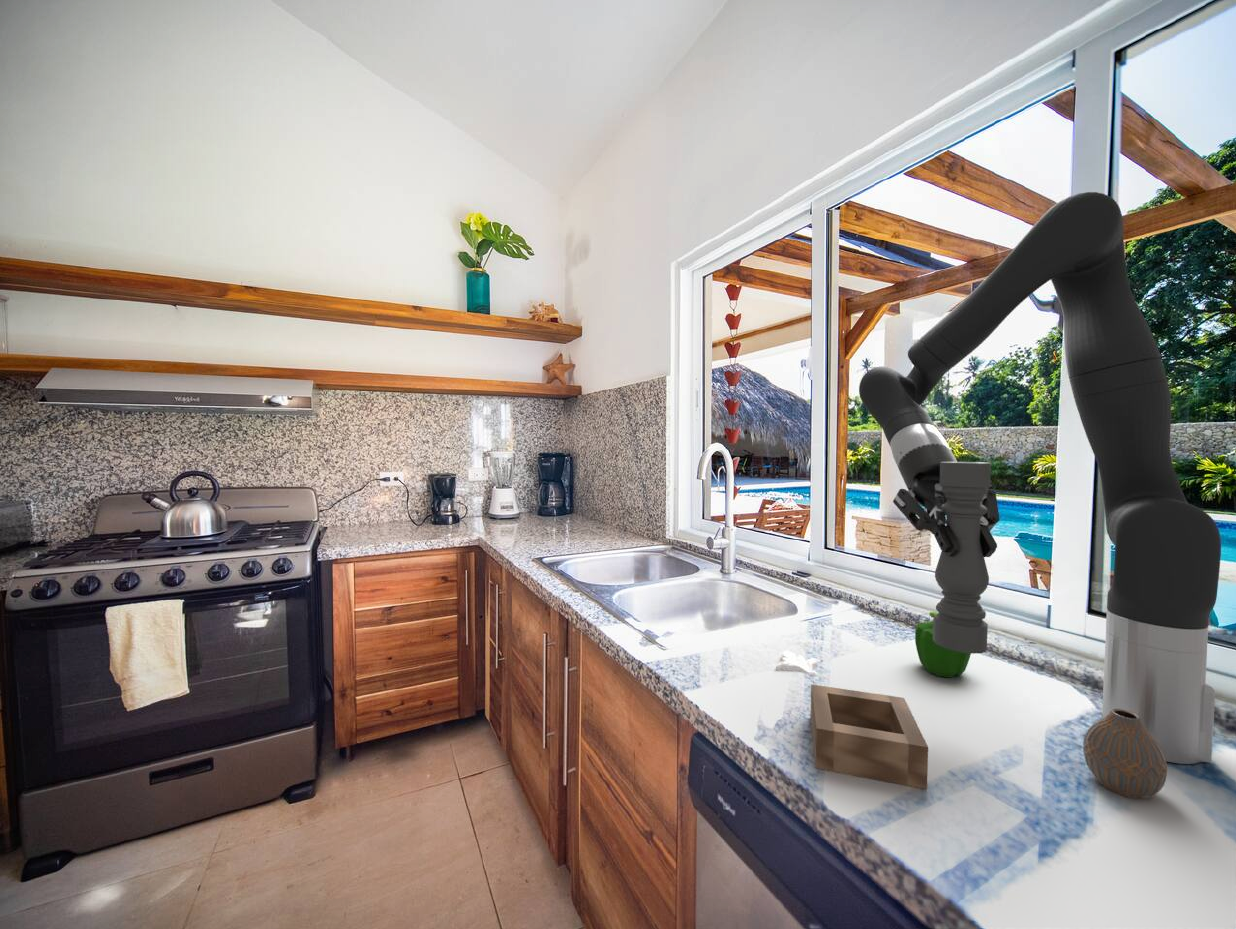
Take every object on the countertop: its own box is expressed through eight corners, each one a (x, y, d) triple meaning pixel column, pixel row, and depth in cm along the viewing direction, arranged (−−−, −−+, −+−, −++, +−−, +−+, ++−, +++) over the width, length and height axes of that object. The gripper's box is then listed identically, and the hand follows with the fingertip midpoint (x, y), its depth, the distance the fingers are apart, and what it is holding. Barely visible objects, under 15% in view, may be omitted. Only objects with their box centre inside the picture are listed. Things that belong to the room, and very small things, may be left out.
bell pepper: (979, 684, 84) (981, 626, 83) (925, 679, 86) (927, 622, 85) (956, 663, 92) (958, 609, 92) (907, 659, 94) (909, 606, 93)
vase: (1079, 760, 64) (1082, 693, 63) (1158, 784, 59) (1162, 711, 59) (1084, 789, 58) (1087, 715, 58) (1171, 817, 54) (1175, 738, 54)
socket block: (903, 733, 69) (904, 697, 69) (926, 789, 58) (928, 747, 58) (810, 717, 73) (811, 684, 73) (815, 767, 62) (816, 728, 62)
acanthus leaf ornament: (776, 673, 89) (776, 663, 89) (778, 658, 95) (778, 648, 95) (821, 680, 86) (821, 669, 86) (820, 664, 92) (820, 654, 92)
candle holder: (934, 647, 68) (940, 462, 66) (930, 632, 73) (935, 461, 72) (991, 657, 65) (998, 463, 64) (982, 640, 70) (988, 462, 69)
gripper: (885, 442, 76) (928, 536, 64) (983, 442, 75) (1045, 538, 63) (869, 475, 81) (906, 567, 69) (960, 475, 80) (1012, 569, 69)
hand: (971, 553), depth 66 cm, fingers closed on candle holder, 4 cm apart
